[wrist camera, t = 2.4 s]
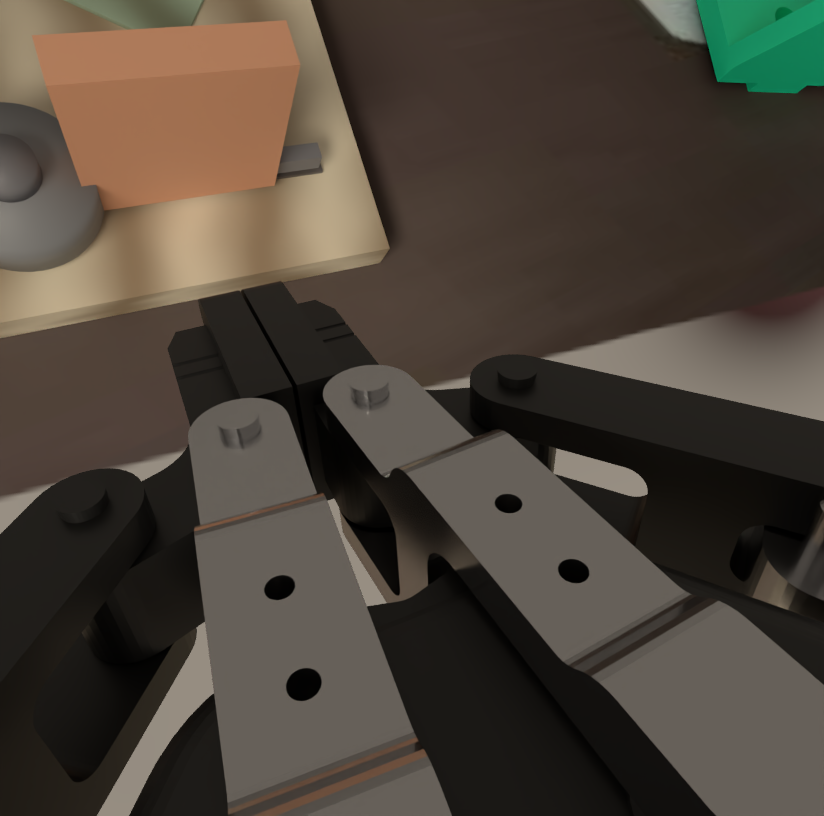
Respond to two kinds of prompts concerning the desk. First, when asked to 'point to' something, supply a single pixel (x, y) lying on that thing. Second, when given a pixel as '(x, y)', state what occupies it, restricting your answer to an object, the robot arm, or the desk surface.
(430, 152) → the desk surface
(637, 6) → the desk surface
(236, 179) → the orange grey panel fixture
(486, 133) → the desk surface
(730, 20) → the camera mount
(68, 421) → the desk surface
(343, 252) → the level stand
